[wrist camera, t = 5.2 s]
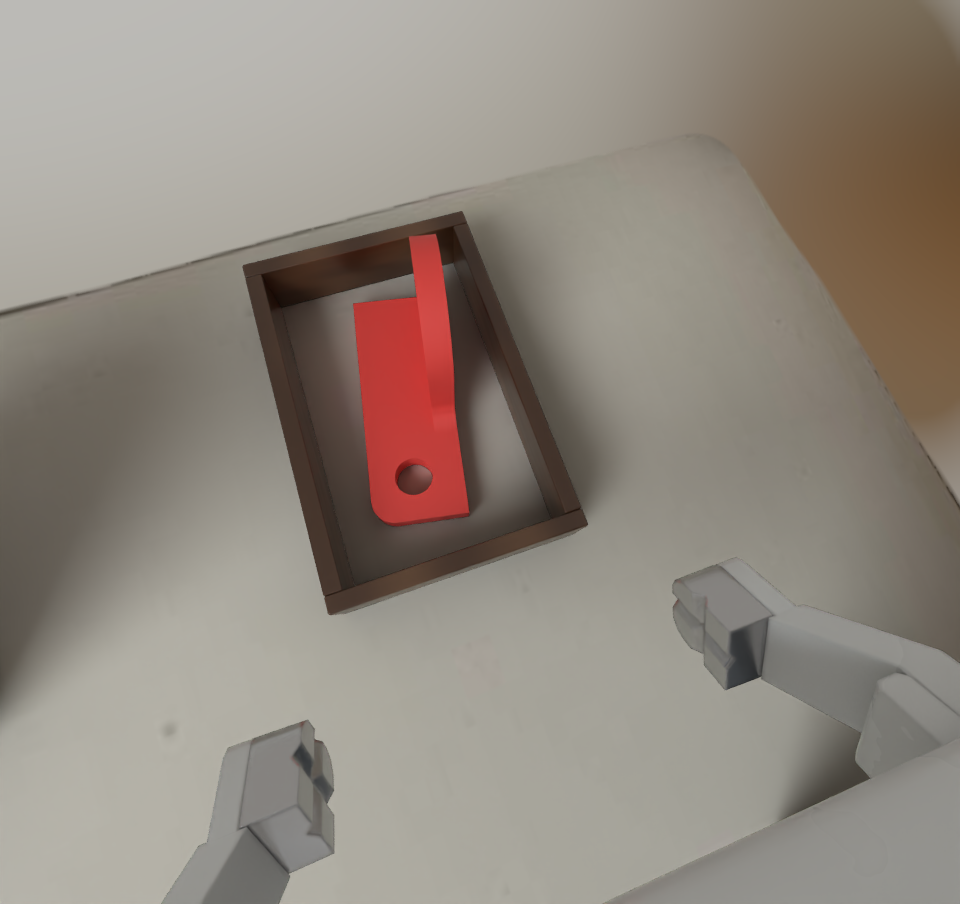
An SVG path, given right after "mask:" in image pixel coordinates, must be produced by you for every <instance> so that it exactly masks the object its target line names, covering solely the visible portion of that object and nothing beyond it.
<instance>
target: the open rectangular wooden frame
mask: <svg viewBox="0 0 960 904" xmlns="http://www.w3.org/2000/svg"><path fill="white" fill-rule="evenodd" d="M431 234H436V237H437V240H438V245H439V251H440V256H441V263H442V265H446V264H449V263H453V262H454V266H455V268H456V271H457V273H458V276H459V279H460V281H461V284H462V286H463V289H464V292H465V294H466V297H467V299H468V302H469V305H470V307H471V310H472V313H473V315H474V318H475V320H476V323H477V326H478V328H479V331H480V333H481V336H482V339H483V341H484V344H485V346H486V349H487V352H488V354H489V357H490V360H491V362H492V365H493V367H494V370H495V373H496V375H497V378H498V380H499V383H500V386H501V388H502V391H503V394H504V396H505V399H506V401H507V404H508V407H509V409H510V412H511V414H512V417H513V420H514V422H515V425H516V427H517V430H518V433H519V435H520V438H521V441H522V443H523V446H524V448H525V451H526V454H527V456H528V459H529V461H530V464H531V467H532V469H533V472H534V474H535V477H536V480H537V482H538V485H539V488H540V490H541V493H542V495H543V498H544V501H545V503H546V506H547V508H548V511H549V514H550V516H551V519H549V520H546V521H543V522H540V523H538V524H535V525H532V526H529V527H526V528H523V529H520V530H517V531H514V532H511V533H508V534H505V535H502V536H499V537H497V538H494V539H491V540H488V541H485V542H482V543H479V544H476V545H473V546H470V547H467V548H464V549H461V550H459V551H456V552H453V553H450V554H447V555H444V556H441V557H438V558H435V559H432V560H429V561H426V562H423V563H421V564H418V565H415V566H412V567H409V568H406V569H403V570H400V571H397V572H394V573H391V574H388V575H385V576H383V577H380V578H377V579H374V580H371V581H368V582H365V583H362V584H359V585H356V586H355V585H354V581H353V577H352V574H351V570H350V566H349V562H348V559H347V555H346V551H345V547H344V543H343V540H342V536H341V532H340V528H339V524H338V521H337V517H336V513H335V509H334V506H333V502H332V498H331V494H330V490H329V487H328V483H327V479H326V475H325V472H324V468H323V464H322V460H321V456H320V453H319V449H318V445H317V441H316V438H315V434H314V430H313V426H312V422H311V419H310V415H309V411H308V407H307V403H306V400H305V396H304V392H303V388H302V385H301V381H300V377H299V373H298V369H297V366H296V362H295V358H294V354H293V351H292V347H291V343H290V339H289V335H288V332H287V328H286V324H285V320H284V317H283V313H282V309H281V307H284V306H288V305H292V304H296V303H300V302H303V301H307V300H311V299H315V298H319V297H323V296H327V295H330V294H334V293H338V292H342V291H346V290H350V289H353V288H357V287H361V286H365V285H369V284H373V283H376V282H380V281H384V280H388V279H392V278H396V277H400V276H403V275H407V274H411V273H414V272H413V264H412V257H411V249H410V241H409V236H420V235H431ZM243 271H244V275H245V278H246V284H247V288H248V292H249V296H250V300H251V304H252V308H253V312H254V316H255V320H256V324H257V328H258V332H259V336H260V340H261V344H262V348H263V352H264V357H265V361H266V365H267V369H268V373H269V377H270V381H271V385H272V389H273V393H274V397H275V401H276V405H277V409H278V413H279V417H280V421H281V425H282V430H283V434H284V438H285V442H286V446H287V450H288V454H289V458H290V462H291V466H292V470H293V474H294V478H295V482H296V486H297V490H298V494H299V499H300V503H301V507H302V511H303V515H304V519H305V523H306V527H307V531H308V535H309V539H310V543H311V547H312V551H313V555H314V559H315V563H316V567H317V572H318V576H319V580H320V584H321V588H322V592H323V595H324V596H325V598H324V599H325V603H326V607H327V611H328V614H329V615H337V614H346V613H349V612H352V611H355V610H357V609H360V608H363V607H366V606H369V605H372V604H375V603H377V602H380V601H383V600H386V599H389V598H392V597H395V596H398V595H400V594H403V593H406V592H409V591H412V590H415V589H418V588H420V587H423V586H426V585H429V584H432V583H435V582H438V581H441V580H443V579H446V578H449V577H452V576H455V575H458V574H461V573H464V572H466V571H469V570H472V569H475V568H478V567H481V566H484V565H486V564H489V563H492V562H495V561H498V560H501V559H504V558H507V557H509V556H512V555H515V554H518V553H521V552H524V551H527V550H529V549H532V548H535V547H538V546H541V545H544V544H547V543H550V542H552V541H555V540H558V539H561V538H564V537H567V536H570V535H572V534H574V533H576V532H578V531H579V530H581V529H583V528H584V527H586V526H587V525H588V523H587V520H586V518H585V515H584V513H583V510H582V509H580V508H581V505H580V503H579V500H578V498H577V495H576V493H575V490H574V488H573V485H572V483H571V480H570V478H569V475H568V473H567V470H566V468H565V465H564V463H563V460H562V458H561V455H560V453H559V450H558V448H557V445H556V443H555V440H554V438H553V436H552V433H551V431H550V428H549V426H548V423H547V421H546V418H545V416H544V413H543V411H542V408H541V406H540V403H539V401H538V398H537V396H536V393H535V391H534V388H533V386H532V383H531V381H530V378H529V376H528V373H527V371H526V368H525V366H524V363H523V361H522V358H521V356H520V353H519V351H518V348H517V346H516V343H515V341H514V338H513V336H512V333H511V331H510V329H509V326H508V324H507V321H506V319H505V316H504V314H503V311H502V309H501V306H500V304H499V301H498V299H497V296H496V294H495V291H494V289H493V286H492V284H491V281H490V279H489V276H488V274H487V271H486V269H485V266H484V264H483V261H482V259H481V256H480V254H479V251H478V249H477V246H476V244H475V241H474V239H473V236H472V234H471V231H470V229H469V226H468V224H467V221H466V219H465V216H464V214H463V212H462V211H460V212H456V213H452V214H448V215H444V216H440V217H436V218H432V219H428V220H424V221H420V222H416V223H412V224H408V225H404V226H400V227H396V228H391V229H387V230H383V231H379V232H375V233H371V234H367V235H363V236H359V237H355V238H351V239H347V240H343V241H339V242H335V243H331V244H327V245H322V246H318V247H314V248H310V249H306V250H302V251H298V252H294V253H290V254H286V255H282V256H278V257H274V258H270V259H266V260H262V261H258V262H253V263H249V264H245V265H243Z"/></svg>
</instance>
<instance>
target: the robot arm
mask: <svg viewBox="0 0 960 904" xmlns="http://www.w3.org/2000/svg"><path fill="white" fill-rule="evenodd" d="M673 594H674V595H675V596H676V597H677V599H678V600H677V601H676V603H675V604H674V606H673V618H674V621H675V624H676V626H677V629H678V631H679V633H680V634H681V636H682V638H683V639H684V641H685V642H686V643H687V644H688V646H689V647H690V648H691V649H693V650H696V651H698V652H700V653H703V654H704V666H705V667H706V668H707V669H708V670H709V672H710V673H711V674H712V675H713V676H714V678H715V679H716V680H717V681H718V683H719V684H720V685H721V686H722V687H723V689H724V690H727V689H730V688H733V687H735V686H738V685H741V684H743V683H746V682H748V681H751V680H754V679H756V678H759V677H761V676H762V677H761V679H762V680H764V681H766V682H768V683H770V684H772V685H773V686H775V687H777V688H779V689H781V690H783V691H784V692H786V693H788V694H790V695H792V696H794V697H796V698H797V699H799V700H801V701H803V702H805V703H807V704H809V705H810V706H812V707H814V708H816V709H818V710H820V711H822V712H823V713H825V714H827V715H829V716H831V717H833V718H834V719H836V720H838V721H840V722H842V723H844V724H846V725H847V726H849V727H851V728H853V729H855V730H857V731H859V732H860V733H861V737H860V740H859V743H858V746H857V750H856V753H855V762H856V763H857V764H858V765H859V766H860V767H861V768H862V770H863V771H864V772H865V773H866V774H867V775H868V776H869V777H870V778H871V779H869V780H867V781H865V782H862V783H860V784H858V785H856V786H854V787H852V788H850V789H847V790H845V791H843V792H841V793H839V794H837V795H834V796H832V797H830V798H828V799H826V800H824V801H822V802H819V803H817V804H815V805H813V806H811V807H809V808H807V809H804V810H802V811H800V812H798V813H796V814H794V815H792V816H789V817H787V818H785V819H783V820H781V821H779V822H777V823H774V824H772V825H770V826H768V827H766V828H764V829H761V830H759V831H757V832H755V833H753V834H751V835H749V836H746V837H744V838H742V839H740V840H738V841H736V842H734V843H731V844H729V845H727V846H725V847H723V848H721V849H719V850H716V851H714V852H712V853H710V854H708V855H706V856H704V857H701V858H699V859H697V860H695V861H693V862H691V863H688V864H686V865H684V866H682V867H680V868H678V869H676V870H673V871H671V872H669V873H667V874H665V875H663V876H661V877H658V878H656V879H654V880H652V881H650V882H648V883H646V884H643V885H641V886H639V887H637V888H635V889H633V890H631V891H628V892H626V893H624V894H622V895H620V896H618V897H615V898H613V899H611V900H609V901H607V902H605V903H603V904H960V663H958V662H957V661H956V660H954V659H953V658H952V657H950V656H949V655H947V654H946V653H945V652H943V651H942V650H939V649H936V648H933V647H930V646H927V645H924V644H921V643H918V642H915V641H912V640H909V639H906V638H903V637H900V636H897V635H894V634H891V633H888V632H885V631H882V630H879V629H876V628H873V627H870V626H867V625H864V624H861V623H858V622H855V621H852V620H849V619H846V618H843V617H840V616H837V615H834V614H831V613H828V612H825V611H822V610H819V609H816V608H813V607H810V606H807V605H804V604H803V605H800V606H796V605H795V604H794V603H792V602H791V601H790V600H789V599H788V598H787V597H785V596H784V595H783V594H782V593H781V592H779V591H778V590H777V589H776V588H775V587H774V586H772V585H771V584H770V583H769V582H768V581H767V580H765V579H764V578H763V577H762V576H761V575H760V574H758V573H757V572H756V571H755V570H754V569H753V568H751V567H750V566H749V565H748V564H747V563H746V562H744V561H743V560H742V559H740V558H737V557H735V558H732V559H729V560H727V561H724V562H721V563H719V564H716V565H712V566H709V567H707V568H704V569H702V570H699V571H697V572H694V573H692V574H689V575H687V576H684V577H681V578H679V579H676V580H675V581H674V583H673ZM314 736H315V729H314V727H313V726H312V725H311V723H310V722H309V720H305V721H302V722H299V723H296V724H294V725H291V726H288V727H285V728H282V729H279V730H276V731H273V732H270V733H268V734H265V735H262V736H259V737H256V738H253V739H251V740H248V741H245V742H242V743H240V744H237V745H234V746H232V747H229V748H228V749H227V751H226V753H225V755H224V757H223V760H222V765H221V771H220V776H219V781H218V786H217V792H216V797H215V802H214V807H213V813H212V818H211V823H210V829H209V834H208V839H207V843H204V844H202V845H200V846H198V848H197V849H196V851H195V852H194V854H193V855H192V857H191V858H190V860H189V861H188V863H187V865H186V866H185V868H184V869H183V871H182V872H181V874H180V875H179V877H178V878H177V880H176V881H175V883H174V884H173V886H172V888H171V889H170V891H169V892H168V894H167V895H166V897H165V898H164V900H163V901H162V903H161V904H279V902H280V900H281V897H282V895H283V893H284V890H285V888H286V886H287V883H288V881H289V878H290V875H289V874H290V873H292V872H294V871H296V870H298V869H301V868H303V867H305V866H307V865H310V864H312V863H314V862H316V861H318V860H321V859H323V858H325V857H327V856H330V855H332V854H334V814H333V812H332V811H331V809H330V808H329V807H328V805H327V803H328V801H329V799H330V797H331V795H332V793H333V791H334V776H333V770H332V764H331V759H330V756H329V753H328V750H327V748H326V746H325V745H324V743H323V742H322V741H319V740H315V739H314Z"/></svg>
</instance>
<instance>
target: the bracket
mask: <svg viewBox="0 0 960 904" xmlns="http://www.w3.org/2000/svg"><path fill="white" fill-rule="evenodd" d="M409 241H410V249H411V257H412V264H413V272H414V279H415V287H416V295H417V297H411V298H402V299H392V300H383V301H373V302H363V303H354V304H353V306H354V317H355V328H356V340H357V351H358V362H359V373H360V384H361V395H362V406H363V417H364V428H365V439H366V451H367V462H368V473H369V484H370V495H371V505H372V508H373V510H374V512H375V514H376V515H377V516H378V517H379V518H380V519H381V520H382V521H383V522H384V523H386V524H388V525H391V526H405V525H412V524H419V523H426V522H433V521H440V520H447V519H454V518H461V517H468V516H469V506H468V499H467V492H466V486H465V479H464V472H463V465H462V458H461V451H460V445H459V438H458V431H457V423H456V415H455V403H454V367H453V354H452V343H451V333H450V324H449V315H448V306H447V298H446V291H445V283H444V276H443V269H442V263H441V256H440V251H439V245H438V240H437V237H436V234H431V235H420V236H409ZM411 465H422V466H424V467H426V468H427V469H428V470H429V471H430V472H431V473H432V476H433V478H432V483H431V485H430V486H429V488H428V489H427V490H426V491H424V492H423V493H421V494H417V495H409V494H406V493H404V492H402V491H401V490H400V489H399V488H398V477H399V475H400V473H401V472H402V470H403V469H405V468H406V467H408V466H411Z"/></svg>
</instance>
